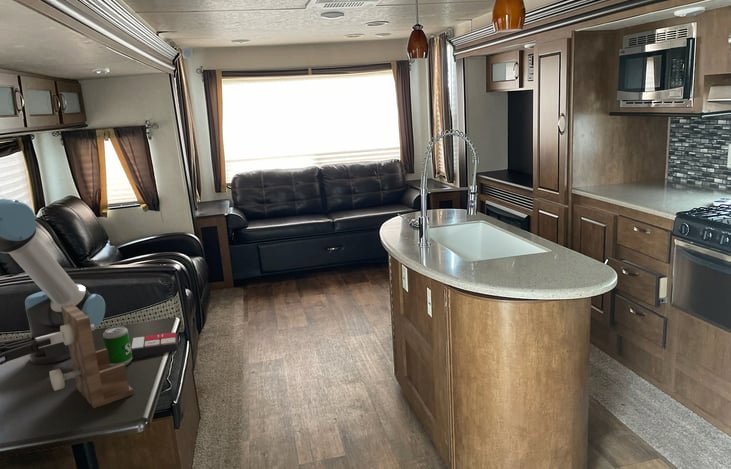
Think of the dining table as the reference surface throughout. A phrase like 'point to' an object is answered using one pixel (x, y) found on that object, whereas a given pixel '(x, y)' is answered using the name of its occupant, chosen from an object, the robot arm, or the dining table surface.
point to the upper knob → (70, 333)
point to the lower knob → (62, 378)
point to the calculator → (154, 345)
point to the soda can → (118, 345)
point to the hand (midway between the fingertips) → (62, 336)
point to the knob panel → (93, 363)
